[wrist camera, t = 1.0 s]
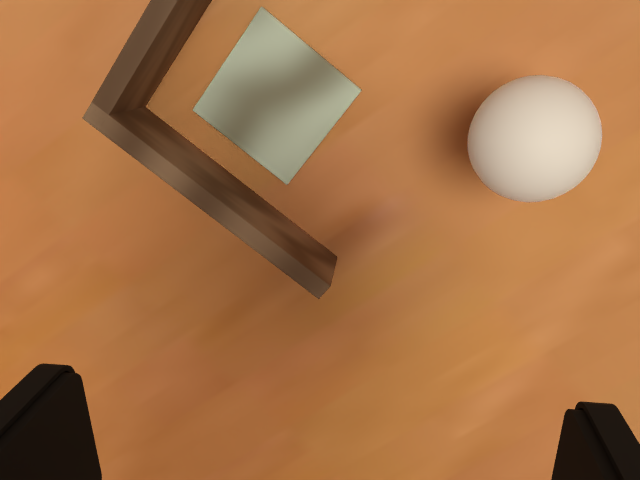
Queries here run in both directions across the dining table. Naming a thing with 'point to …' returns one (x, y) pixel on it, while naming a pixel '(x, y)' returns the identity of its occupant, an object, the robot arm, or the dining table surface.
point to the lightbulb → (534, 138)
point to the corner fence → (231, 125)
